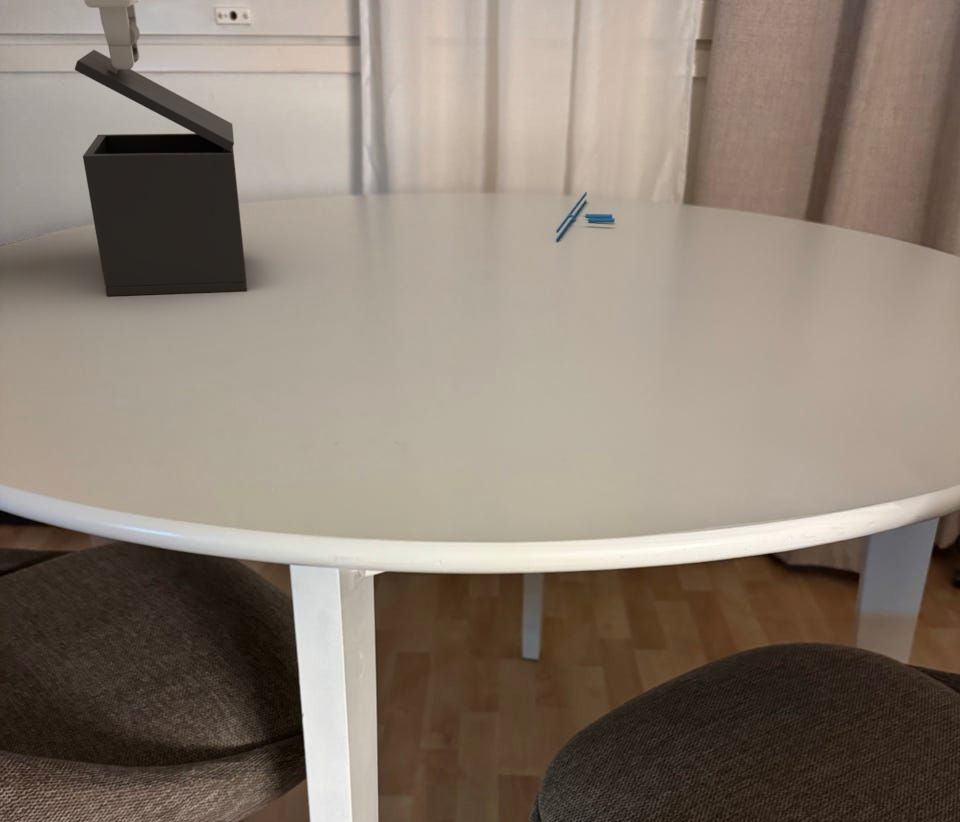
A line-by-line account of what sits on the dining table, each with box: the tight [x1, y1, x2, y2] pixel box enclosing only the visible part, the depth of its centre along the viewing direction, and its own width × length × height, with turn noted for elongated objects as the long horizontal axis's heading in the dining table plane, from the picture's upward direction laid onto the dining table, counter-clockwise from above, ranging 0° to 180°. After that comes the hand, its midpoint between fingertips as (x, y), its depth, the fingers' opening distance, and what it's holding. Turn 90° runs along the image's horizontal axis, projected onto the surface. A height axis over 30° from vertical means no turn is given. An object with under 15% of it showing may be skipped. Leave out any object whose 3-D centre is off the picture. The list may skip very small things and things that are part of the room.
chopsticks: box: [555, 191, 616, 242], centre depth 128 cm, size 1×25×5 cm
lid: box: [74, 21, 235, 151], centre depth 95 cm, size 14×14×5 cm
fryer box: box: [82, 132, 248, 297], centre depth 100 cm, size 13×14×12 cm
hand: (127, 65), depth 94 cm, fingers closed on lid, 6 cm apart
